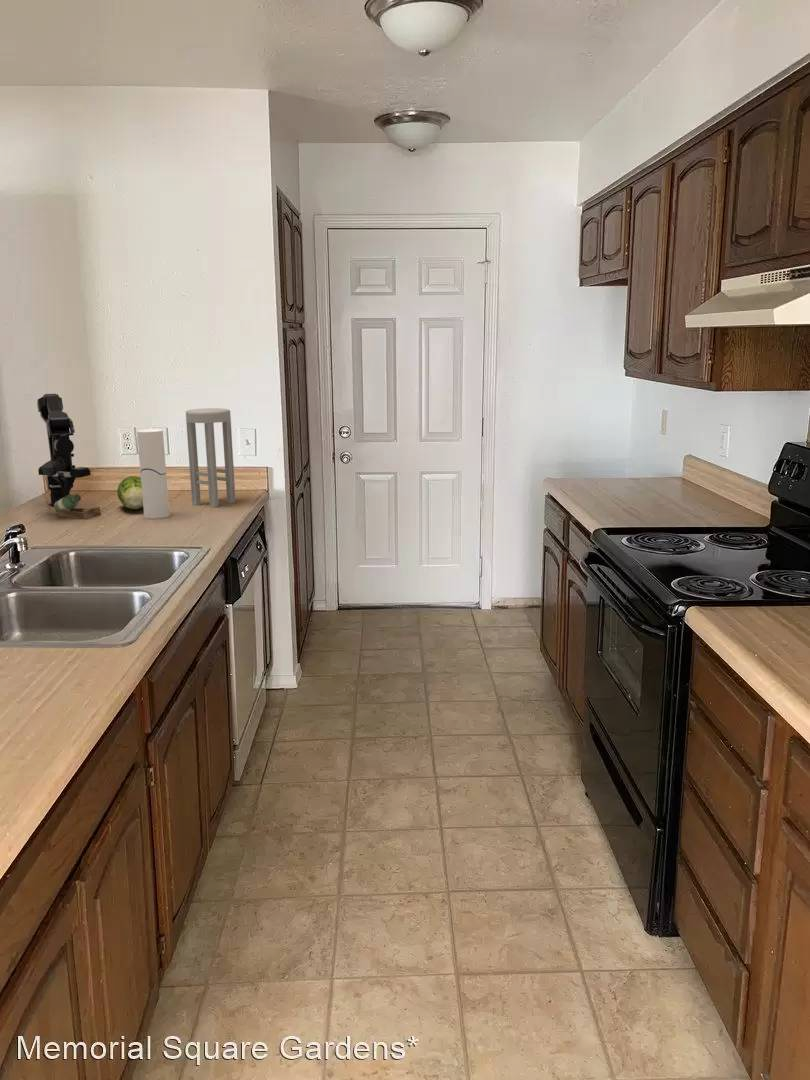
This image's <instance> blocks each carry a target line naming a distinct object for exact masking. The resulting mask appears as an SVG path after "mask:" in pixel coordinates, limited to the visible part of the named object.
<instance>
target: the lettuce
mask: <svg viewBox="0 0 810 1080" xmlns="http://www.w3.org/2000/svg"><path fill="white" fill-rule="evenodd" d="M116 491H117V498H118V500H119V501H120V502H121V504H122V506H124V507H125V508H128V509H129V510H140V509H142V508H143V497H142V485H141V476H140V477H139V476H136V475H135V476H134V475H132V476H131V475H130V476H128V477H126V478H125V477H124V478H123V479H122V480H121V481H120V483H118V485H117V489H116Z"/></svg>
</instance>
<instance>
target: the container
mask: <svg viewBox="0 0 810 1080" xmlns="http://www.w3.org/2000/svg"><path fill="white" fill-rule="evenodd" d="M136 436H137V449H138V459H139V460H138V461H139V470H140V471H139V472H140V473H139V474H140V478H141V485H142V497H143V507H142V508H143V517H144V518H145V519H149V520H150V519H153V520H155V519H156V520H157V519H164V518H168V517H170V505H169V493H168V492H169V490H168V479H167V477H168V476H167V467H166V465H167V464H166V455H165V452H166V451H165V443H164V442H165V441H164V430H163V429H156V428H155V429H153V428H152V429H151V428H150V429H140V430H136Z"/></svg>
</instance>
